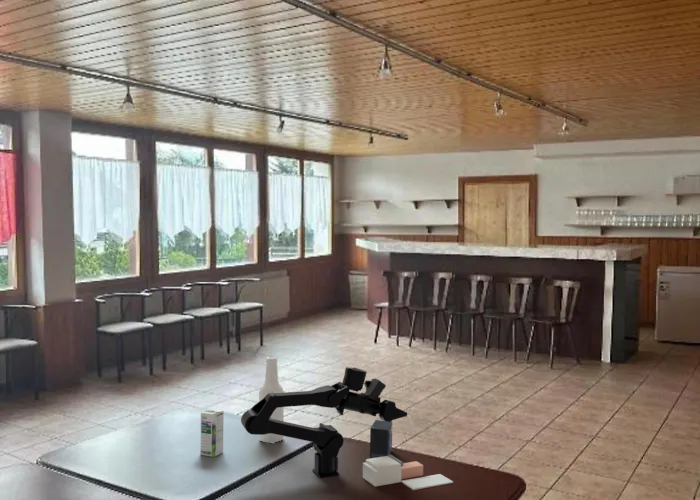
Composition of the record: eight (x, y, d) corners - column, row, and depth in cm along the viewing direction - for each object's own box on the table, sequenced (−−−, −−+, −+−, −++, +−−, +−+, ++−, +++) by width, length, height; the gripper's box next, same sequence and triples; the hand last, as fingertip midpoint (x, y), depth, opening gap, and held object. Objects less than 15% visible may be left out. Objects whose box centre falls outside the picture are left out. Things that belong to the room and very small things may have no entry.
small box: (388, 461, 218) (388, 429, 218) (369, 459, 219) (369, 428, 219) (392, 450, 229) (393, 420, 228) (374, 449, 230) (374, 419, 230)
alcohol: (255, 442, 235) (255, 359, 235) (263, 435, 244) (264, 354, 243) (278, 444, 233) (279, 360, 233) (286, 437, 242) (287, 355, 241)
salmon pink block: (386, 482, 200) (386, 471, 200) (380, 478, 203) (380, 467, 203) (423, 476, 205) (423, 465, 205) (416, 472, 209) (416, 461, 209)
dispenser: (374, 486, 196) (375, 466, 196) (362, 477, 203) (362, 458, 203) (402, 481, 200) (403, 462, 200) (390, 472, 207) (390, 454, 207)
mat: (413, 490, 193) (413, 488, 193) (401, 481, 200) (401, 480, 200) (453, 482, 199) (453, 481, 199) (440, 475, 206) (440, 473, 206)
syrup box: (199, 455, 222) (199, 412, 221) (209, 449, 227) (209, 408, 227) (214, 457, 220) (214, 414, 219) (223, 452, 225) (224, 409, 225)
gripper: (375, 381, 202) (419, 391, 208) (352, 374, 220) (393, 383, 225) (367, 417, 201) (411, 426, 206) (344, 407, 218) (386, 416, 223)
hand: (400, 412), depth 215 cm, fingers open, 9 cm apart
